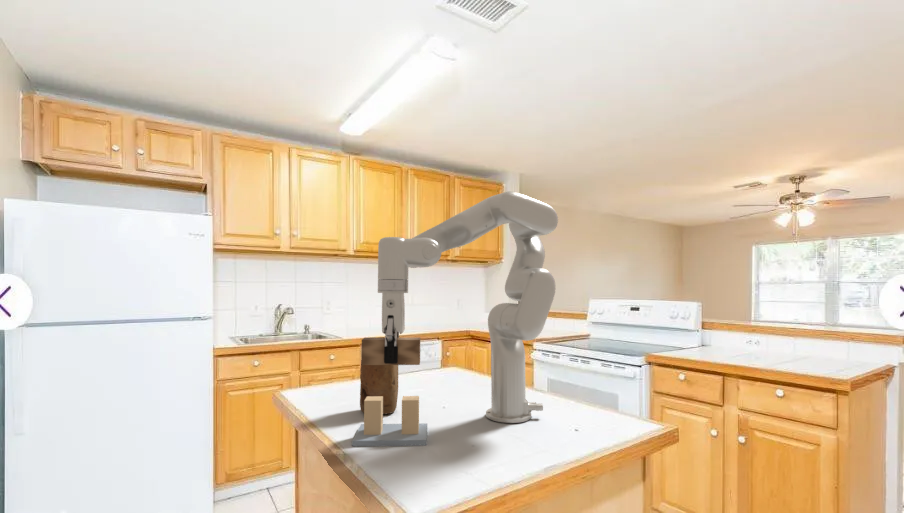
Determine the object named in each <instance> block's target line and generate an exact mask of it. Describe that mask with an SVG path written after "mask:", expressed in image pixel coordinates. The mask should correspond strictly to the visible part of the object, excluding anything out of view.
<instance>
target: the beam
mask: <svg viewBox="0 0 904 513" xmlns="http://www.w3.org/2000/svg"><path fill="white" fill-rule="evenodd" d="M384 346H385V337H363V338H362V339H361V346H360V347H361V353H360V354H361V356H360V357H361V359H360V366H361V365H398V366H419V365H421V337H399V338H397V346H398V362H397V363H396V364H385V363H384Z"/></svg>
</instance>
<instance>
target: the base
mask: <svg viewBox="0 0 904 513" xmlns="http://www.w3.org/2000/svg"><path fill="white" fill-rule="evenodd" d="M383 418H384V414H383V396H367V397H366V399H365V400H364V412H363V423H361V424H360V425H359V427H358V429H357V431H356V433H355V435H354V437H353V439H352V441H351V445H352V447H386V446H387V447H390V446H391V447H393V446H396V447H397V446H398V447H399V446H401V447H402V446H403V447H404V446H407V447H408V446H427V442H426V441H427V440H428V438H427V437H428V423H426V422H425V423H420V396H419V395H403V396H402V399H401V423H384V420H383Z"/></svg>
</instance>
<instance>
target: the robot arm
mask: <svg viewBox="0 0 904 513" xmlns="http://www.w3.org/2000/svg"><path fill="white" fill-rule="evenodd" d="M558 223H559V217H558V213H557V211H556V209H554V208H553V207H552V206H551V205H549V204H547V203H545V202H542V201H540V200H537V199H535V198H532V197H530V196H528V195H525V194H522V193H519V192H516V191H505V192H501V193H498V194H494V195H492V196H489V197H487V198H484V199H483V200H481V201H479V202H478V203H476V204H474V205H472V206H470V207H468V208H466V209H464V210H463V211H461V212H458V214H455V215H454V216H451V217H449V218H447V219H446V220H444V221H442V222H441V223H439V224H436V225H434V226H432V227H431V228H429V229H426V230H424V231H423V232H421V233H419V234H417V235H415V236H414V237H412V238H404V237H400V236H397V237H396V236H387V237H386V236H385V237H382V238H380V239H379V241H378V249H377V250H378V252H377V293H378V294H381V331H382V334H384V336H385V337H384V338H385V346H384V363H385V364H396V363H397V362H398V346H397V338H400V335H401V334H403V333H404V331H405V329H406V327H405V326H406V325H405V323H406V322H405V321H406V320H405V314H406V313H405V307H406V306H405V294H408V293H409V269H415V268H420V269H421V268H428V267H432V266H434V265H436V264H437V263H438V262H439V261H440V259H441V256H442V253H444V252H446V251H449V250H452V249H455V248H456V249H457V248H459V247H464V246H465V245H469V244H471V243H472V242H473V243H474V241H476V240H478V239H479V238H481V237H482V236H484V235H486V234H488V233H489V232H492V231H493V230H494V229H497V228H498V227H500V226H502V225H507V224H508V227H509V231H510V233H511V235H512V237H513V239H514V241H515V246H516V251H515V256H514V258H513V262H512V264H511V267H510V270H509V272H508V275H507V277H506V281H505V285H504V292H505V295H506V296H507V298H509V299H510V300H513V301H516V302H519V303H514V302H512V303H511V302H502V303H498V304H497V305H495V306H493V307H492V308H491V309H490V311H489V314H488V318H487V328H488V333H489V338H490V339H489V340H490V352H491V353H490V354H491V355H490V356H491V358H490V360H491V361H490V363H491V367H490V368H491V373H490V374H491V376H490V377H491V379H490V380H491V384H490V385H491V394H490V395H491V397H490V399H491V407H490V408H488V409H487V410H486V411H485V417H486V418H487V419H489V420H491V421H493V422H497V423H504V424H505V423H507V424H517V423H520V424H521V423H524V422H529V420H531V419H532V412H533V411H537V412H539V411H540V412H542V411H544V405H543V403H537V402H535V401H533V402H532V401H531V402H529V401H528V400H527V399H526V349H525V345H524V342H523V341H526V342H527V341H533V340H535V339H536V338H538V337H539V336H540V334H541V333H542V331H543V329H544V328H545V325H546V322H547V319H548V317H549V316H548V315H549V313H550V310H551V307H552V305H553V302H554V301H553V300H554V299H555V294H556V281H555V277H554V276H553V274H552V273H551V272H550V271H549V270H548V269H546V268H543V266H544V262H545V257H546V251H545V248H544V245H543V242H542V240H541V237H540V236H545V235H546V236H547V235H549V234H551V233H553V232H554V231H555V230H556V228H558Z"/></svg>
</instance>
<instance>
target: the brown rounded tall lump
mask: <svg viewBox="0 0 904 513" xmlns="http://www.w3.org/2000/svg"><path fill="white" fill-rule="evenodd" d="M359 371H360V374H359V375H360V376H359V377H360V378H359V379H360V386H359V388H360V390H359V392H360V393H359V397H360V398H359V408H360V411H361V412H362V413H364V400H365V399H366V397H367V396H383V415H388V414H390V415H391V414H392V413H394V412H396V409H397V405H398V404H397V403H398V398H399V396H398V395H399V365H361V364H360V370H359Z"/></svg>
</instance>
